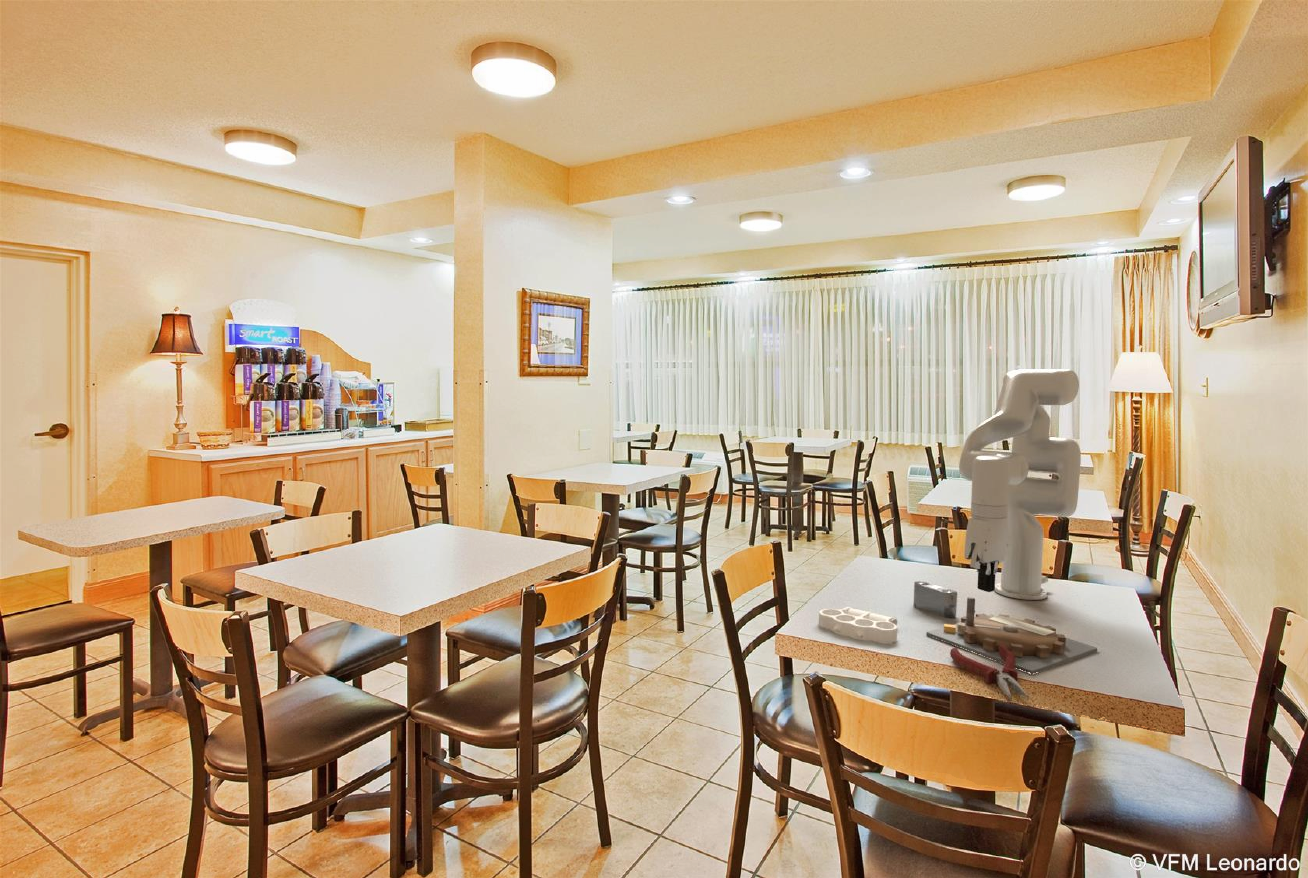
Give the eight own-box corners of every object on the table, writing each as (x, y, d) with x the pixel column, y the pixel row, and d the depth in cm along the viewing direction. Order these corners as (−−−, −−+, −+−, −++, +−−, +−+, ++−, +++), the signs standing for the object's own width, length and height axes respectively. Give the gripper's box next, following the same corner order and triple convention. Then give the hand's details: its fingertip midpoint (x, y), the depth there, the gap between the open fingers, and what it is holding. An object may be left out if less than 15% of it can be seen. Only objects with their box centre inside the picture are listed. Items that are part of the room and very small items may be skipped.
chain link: (919, 603, 177) (920, 580, 176) (959, 616, 167) (960, 592, 166) (910, 605, 175) (911, 582, 174) (950, 619, 165) (951, 594, 165)
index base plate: (991, 617, 166) (991, 609, 166) (1097, 651, 146) (1097, 642, 146) (926, 635, 154) (926, 626, 154) (1032, 675, 134) (1032, 665, 133)
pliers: (986, 705, 122) (985, 691, 121) (948, 657, 141) (947, 645, 141) (1054, 703, 120) (1054, 689, 120) (1006, 655, 140) (1005, 643, 140)
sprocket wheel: (954, 617, 163) (956, 584, 162) (1054, 629, 156) (1056, 594, 155) (961, 649, 144) (962, 611, 143) (1075, 664, 137) (1078, 624, 136)
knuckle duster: (910, 632, 157) (885, 651, 146) (837, 614, 169) (808, 630, 158) (911, 618, 157) (885, 635, 146) (837, 601, 168) (808, 616, 157)
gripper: (993, 504, 162) (990, 579, 164) (953, 512, 154) (950, 591, 156) (1024, 509, 155) (1021, 588, 158) (984, 518, 148) (980, 601, 150)
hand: (986, 589), depth 157 cm, fingers closed
